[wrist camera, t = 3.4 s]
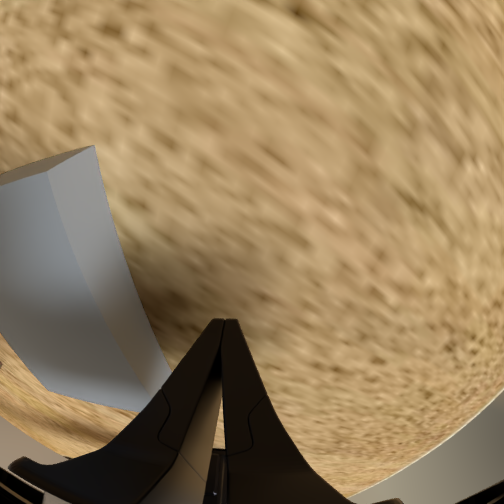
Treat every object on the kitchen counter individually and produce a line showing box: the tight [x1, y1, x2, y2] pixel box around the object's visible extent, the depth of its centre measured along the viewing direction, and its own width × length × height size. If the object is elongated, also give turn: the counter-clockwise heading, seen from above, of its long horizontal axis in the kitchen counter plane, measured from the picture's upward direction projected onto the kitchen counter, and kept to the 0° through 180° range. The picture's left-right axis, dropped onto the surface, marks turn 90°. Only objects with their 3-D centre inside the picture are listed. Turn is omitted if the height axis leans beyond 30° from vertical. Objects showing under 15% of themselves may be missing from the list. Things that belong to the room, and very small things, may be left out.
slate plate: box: [0, 145, 172, 412], centre depth 10 cm, size 12×8×3 cm, turn 4°
